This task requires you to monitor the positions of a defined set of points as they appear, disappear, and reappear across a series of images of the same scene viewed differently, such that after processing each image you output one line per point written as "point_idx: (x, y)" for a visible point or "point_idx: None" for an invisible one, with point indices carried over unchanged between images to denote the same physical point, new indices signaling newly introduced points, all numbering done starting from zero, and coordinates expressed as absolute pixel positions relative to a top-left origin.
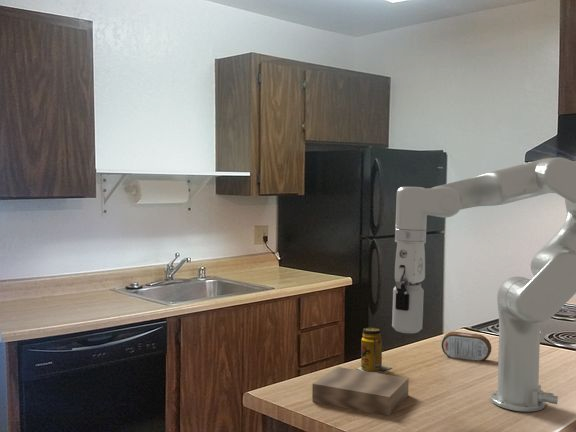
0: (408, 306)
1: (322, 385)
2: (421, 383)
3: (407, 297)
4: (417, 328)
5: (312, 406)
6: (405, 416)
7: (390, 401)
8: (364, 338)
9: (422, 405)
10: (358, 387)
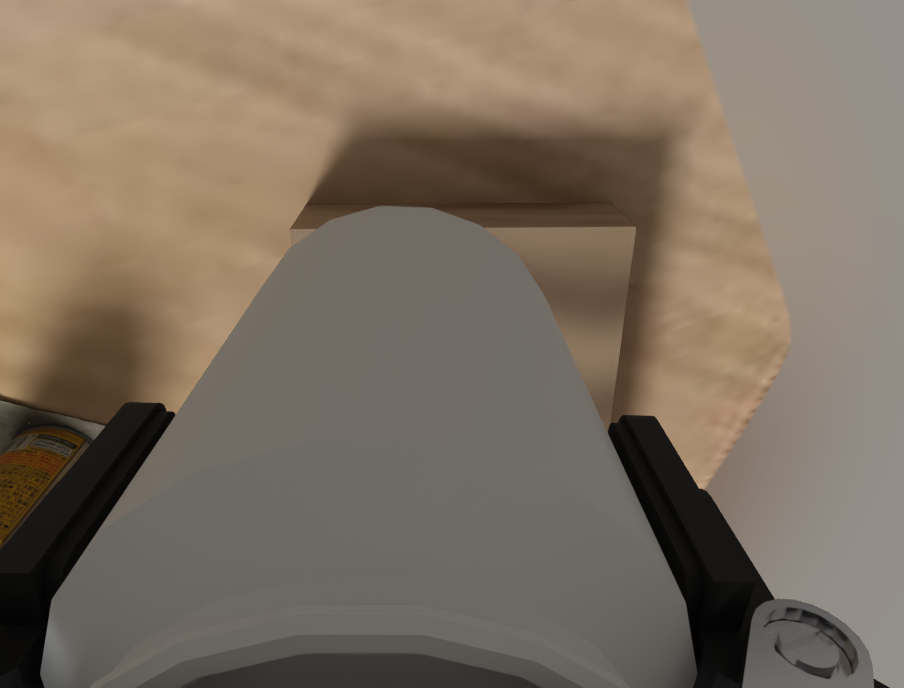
0: (657, 441)
1: None
2: (87, 195)
3: (727, 554)
4: (489, 234)
5: None
6: (586, 133)
7: (606, 218)
8: None
9: (407, 98)
10: None
